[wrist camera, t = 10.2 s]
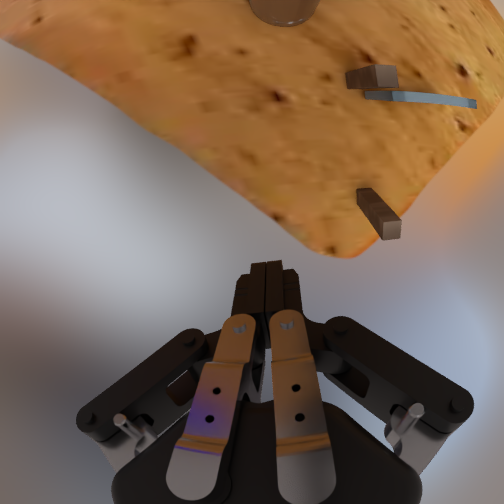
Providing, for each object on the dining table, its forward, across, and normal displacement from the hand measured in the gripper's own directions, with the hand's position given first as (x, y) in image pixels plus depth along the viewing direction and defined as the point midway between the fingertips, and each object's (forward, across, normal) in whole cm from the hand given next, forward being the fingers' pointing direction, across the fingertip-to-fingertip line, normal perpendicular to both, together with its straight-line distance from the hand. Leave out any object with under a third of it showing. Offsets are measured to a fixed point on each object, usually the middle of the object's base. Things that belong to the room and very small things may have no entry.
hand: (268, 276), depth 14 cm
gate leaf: (+28, -21, -8) cm, 36 cm away
